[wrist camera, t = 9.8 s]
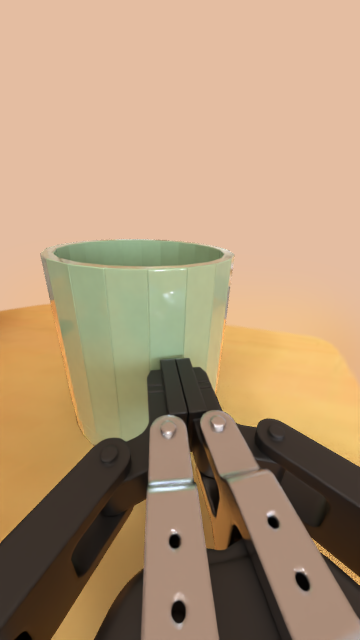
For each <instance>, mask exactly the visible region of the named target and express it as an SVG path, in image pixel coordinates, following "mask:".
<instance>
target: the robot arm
mask: <svg viewBox="0 0 360 640" xmlns="http://www.w3.org/2000/svg"><path fill="white" fill-rule="evenodd" d="M147 394H148V416H149V423H148V426H147V428H146V429H145V430H144V432H143V433H141V434H140V435H139V436H137V437H135V438H133V439H131V440H129V441H124V440H123V439H121V438H115V437H114V438H107V439H105V440H102V441H100V442H99V443H98V444H96V445H95V446H94V447H93V448H92V449H91V450H90V451H89V452H88V453H87V454H86V455H85V456H84V458H83V459H82V460H81V461H80V462H79V463H78V464H77V465H76V466H75V467H74V468H73V469H72V470H71V471H70V472H69V473H68V474H67V475H66V476H65V477H64V478H63V479H62V480H61V481H60V482H59V483H58V484H57V485H56V486H55V487H54V488H53V489H52V490H51V491H50V492H49V493H48V494H47V496H46V497H45V498H44V499H43V500H42V501H41V502H40V503H39V504H38V505H37V506H36V507H35V508H34V509H33V510H32V511H31V512H30V513H29V514H28V515H27V516H26V517H25V518H24V519H23V520H22V521H21V522H20V523H19V524H18V525H17V526H16V527H15V528H14V529H13V530H12V531H11V533H10V534H9V535H8V536H7V537H6V538H5V539H4V540H3V541H2V542H1V543H0V640H51V638H52V637H53V635H54V634H55V632H56V631H57V629H58V627H59V626H60V624H61V623H62V621H63V619H64V618H65V616H66V615H67V613H68V612H69V610H70V608H71V607H72V605H73V604H74V602H75V600H76V599H77V597H78V596H79V594H80V593H81V591H82V589H83V588H84V586H85V585H86V583H87V582H88V580H89V578H90V577H91V575H92V574H93V572H94V570H95V569H96V567H97V566H98V564H99V563H100V561H101V559H102V558H103V556H104V555H105V553H106V551H107V550H108V548H109V547H110V545H111V544H112V542H113V540H114V539H115V537H116V536H117V534H118V532H119V531H120V529H121V528H122V526H123V525H124V523H125V521H126V520H127V518H128V517H129V515H130V514H131V512H132V510H133V507H134V505H136V504H138V503H140V502H141V501H143V500H145V499H146V523H145V548H144V568H143V569H142V570H141V571H139V572H138V573H137V574H136V575H134V577H133V578H132V579H131V580H130V581H129V582H128V583H127V584H126V585H125V586H124V588H123V589H122V590H121V591H120V593H119V594H118V596H117V597H116V599H115V600H114V602H113V604H112V605H111V607H110V609H109V611H108V613H107V615H106V617H105V619H104V621H103V623H102V625H101V626H100V628H99V630H98V632H97V634H96V636H95V638H94V640H360V585H358V584H357V583H356V582H355V581H354V580H353V579H352V578H350V577H349V576H348V575H347V574H346V573H345V572H344V571H342V570H341V569H340V568H339V567H338V566H337V565H336V564H334V563H333V562H332V561H331V560H330V559H328V558H327V557H326V556H325V555H323V554H322V553H320V552H319V550H318V549H317V547H316V545H315V544H314V542H313V540H312V539H311V538H313V539H314V540H315V541H316V542H317V543H319V544H320V545H321V546H322V547H324V548H325V549H326V550H327V551H328V552H330V553H331V554H332V555H333V556H335V557H336V558H337V559H338V560H339V561H341V562H342V563H343V564H344V565H346V566H347V567H348V568H349V569H351V570H352V571H353V572H354V573H355V574H357V575H358V576H359V577H360V467H359V466H357V465H355V464H353V463H352V462H350V461H348V460H347V459H345V458H343V457H341V456H340V455H338V454H336V453H334V452H333V451H331V450H329V449H327V448H326V447H324V446H322V445H321V444H319V443H317V442H315V441H314V440H312V439H310V438H308V437H307V436H305V435H303V434H302V433H300V432H298V431H296V430H295V429H293V428H291V427H289V426H288V425H286V424H284V423H282V422H281V421H278V420H275V419H264V420H262V421H260V422H259V423H258V425H257V428H256V427H250V426H244V425H240V424H237V423H235V421H234V420H233V418H232V417H231V416H230V415H229V414H227V413H225V412H223V411H222V409H221V406H220V404H219V402H218V399H217V397H216V394H215V392H214V390H213V388H212V385H211V383H210V380H209V378H208V375H207V373H206V372H205V371H204V370H203V369H202V368H201V367H192V364H191V361H190V358H179V359H163V360H160V370H151V371H150V373H149V375H148V376H147ZM190 452H193V454H194V459H195V463H196V472H197V476H198V479H199V482H200V486H201V489H202V492H203V496H204V499H205V502H206V506H207V509H208V512H209V516H210V519H211V523H212V529H213V538H214V544H215V549H216V550H215V549H208V548H206V544H205V537H204V530H203V523H202V516H201V509H200V502H199V495H198V489H197V485H196V483H195V482H194V479H193V472H192V465H191V457H190Z"/></svg>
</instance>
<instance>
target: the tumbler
mask: <svg viewBox="0 0 360 640" xmlns="http://www.w3.org/2000/svg"><path fill="white" fill-rule="evenodd" d="M40 255H41V260H42V265H43V270H44V274H45V279H46V283H47V288H48V292H49V297H50V302H51V307H52V311H53V316H54V320H55V325H56V330H57V334H58V339H59V343H60V348H61V353H62V357H63V362H64V367H65V371H66V376H67V380H68V385H69V390H70V394H71V399H72V404H73V406H74V408H75V413H76V417H77V422H78V425H79V427H80V430H81V431H82V433H83V434H84V436H85V437H86V438H87V439H88V440H89V441H90V442H91V443H92V444H93V445H96V444H98V443H99V442H100V441H102V440H105V439H107V438H114V437H115V438H121V439H123V440H124V441H129V440H131V439H133V438H135V437H137V436H139V435H140V434H141V433H143V432H144V430H145V429H146V428H147V426H148V423H149V416H148V394H147V376H148V375H149V373H150V371H151V370H160V360H163V359H179V358H190V361H191V364H192V367H201V368H202V369H203V370H204V371H205V372H206V373H207V375H208V378H209V380H210V383H211V385H212V388H213V390H214V392H215V394H216V391H217V385H218V377H219V370H220V362H221V354H222V347H223V339H224V331H225V324H226V315H227V308H228V300H229V293H230V285H231V277H232V269H233V262H234V254H233V253H232V252H230V251H229V250H226V249H223V248H219V247H216V246H211V245H205V244H199V243H191V242H182V241H169V240H146V239H145V240H144V239H116V240H94V241H82V242H73V243H67V244H61V245H56V246H53V247H49V248H46V249H45V250H44V251H43V252H41V254H40Z"/></svg>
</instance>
